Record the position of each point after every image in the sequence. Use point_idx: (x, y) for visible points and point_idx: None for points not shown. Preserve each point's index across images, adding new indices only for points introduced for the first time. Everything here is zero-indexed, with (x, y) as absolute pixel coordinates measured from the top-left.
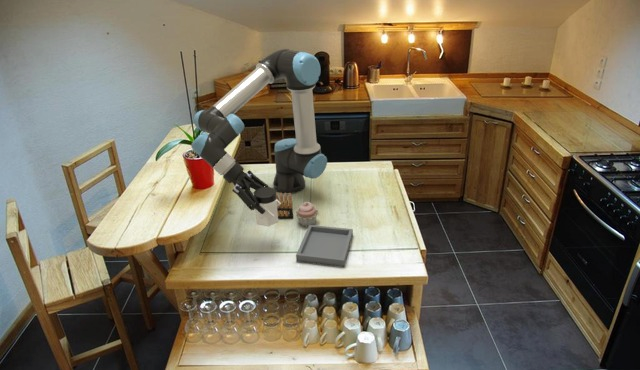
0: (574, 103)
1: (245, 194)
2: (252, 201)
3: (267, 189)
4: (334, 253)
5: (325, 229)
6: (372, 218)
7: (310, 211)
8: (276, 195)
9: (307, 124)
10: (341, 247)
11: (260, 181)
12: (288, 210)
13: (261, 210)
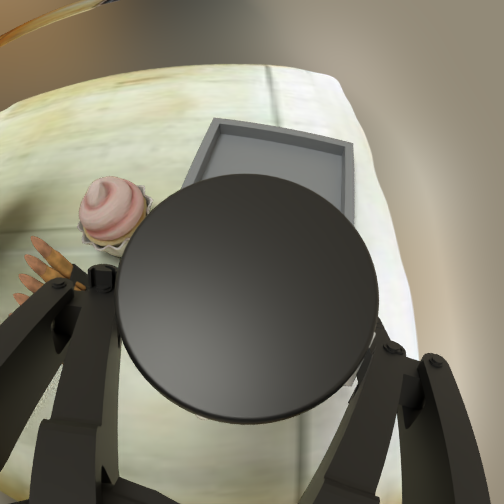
0: (22, 25)
1: (473, 467)
2: (439, 387)
3: (182, 255)
4: (306, 164)
5: (199, 173)
6: (149, 105)
7: (132, 188)
8: (24, 301)
9: None
10: (278, 149)
11: (18, 334)
12: (75, 280)
13: (381, 330)
